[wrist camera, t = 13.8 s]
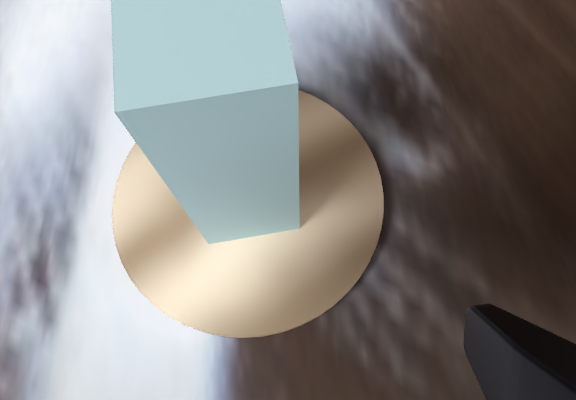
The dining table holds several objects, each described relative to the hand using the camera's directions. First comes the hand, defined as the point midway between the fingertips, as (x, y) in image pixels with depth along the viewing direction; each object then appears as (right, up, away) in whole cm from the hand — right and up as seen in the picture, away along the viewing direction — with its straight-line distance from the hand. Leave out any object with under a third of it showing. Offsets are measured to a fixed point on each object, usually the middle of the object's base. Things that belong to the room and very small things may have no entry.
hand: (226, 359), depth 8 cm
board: (-1, +3, +16) cm, 16 cm away
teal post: (-1, +3, +15) cm, 15 cm away
